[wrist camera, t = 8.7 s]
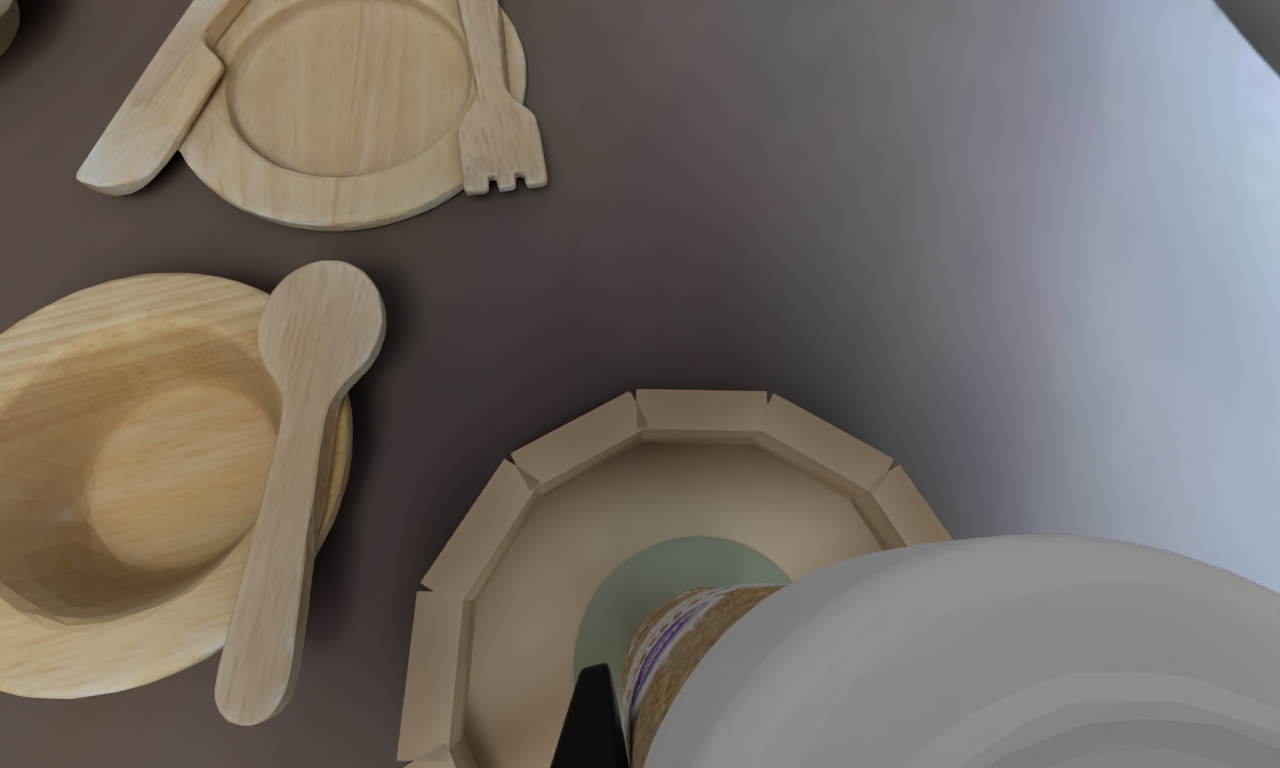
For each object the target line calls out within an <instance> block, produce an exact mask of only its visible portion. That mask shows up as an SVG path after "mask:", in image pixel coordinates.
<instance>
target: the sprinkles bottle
mask: <svg viewBox="0 0 1280 768" xmlns="http://www.w3.org/2000/svg"><path fill="white" fill-rule="evenodd" d="M621 699H622V708H623V714H624V739H625V745H626V750H627V756H628V762H629V767H630V768H1280V594H1279V593H1277V592H1275V591H1273V590H1270V589H1268V588H1266V587H1264V586H1262V585H1260V584H1257V583H1255V582H1253V581H1251V580H1249V579H1246V578H1244V577H1242V576H1239V575H1237V574H1235V573H1233V572H1230V571H1228V570H1225V569H1222V568H1219V567H1216V566H1213V565H1210V564H1207V563H1204V562H1201V561H1198V560H1195V559H1192V558H1189V557H1186V556H1183V555H1181V554H1178V553H1174V552H1170V551H1166V550H1162V549H1158V548H1153V547H1149V546H1145V545H1140V544H1135V543H1130V542H1125V541H1119V540H1111V539H1104V538H1096V537H1087V536H1078V535H1069V534H1037V535H1001V536H991V537H981V538H971V539H961V540H951V541H941V542H933V543H927V544H921V545H915V546H909V547H903V548H897V549H891V550H885V551H879V552H874V553H870V554H866V555H862V556H858V557H854V558H850V559H847V560H843V561H839V562H836V563H834V564H831V565H828V566H825V567H823V568H820V569H817V570H815V571H812V572H810V573H808V574H807V575H805V576H803V577H801V578H799V579H798V580H796V581H794V582H792V583H790V584H789V585H788V584H777V583H755V584H740V585H731V586H725V587H720V588H713V587H698V588H694V589H690V590H687V591H685V592H683V593H681V594H678V595H675V596H673V597H671V598H670V599H668V600H667V601H665V602H664V603H663V604H661V605H660V606H659V607H657V608H656V609H655V610H653V611H652V612H651V613H650V614H649V615H648V616H647V617H646V618H645V620H644V621H643V623H642V624H641V626H640V627H639V629H638V630H637V631H636V632H635V634H634V636H633V638H632V641H631V643H630V646H629V648H628V651H627V654H626V657H625V662H624V666H623V674H622V688H621Z"/></svg>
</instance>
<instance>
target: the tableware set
mask: <svg viewBox="0 0 1280 768" xmlns="http://www.w3.org/2000/svg"><path fill="white" fill-rule="evenodd" d="M19 23H20V12H19V7H18V3H17V0H0V57H1V55H2V54H3V53H4V52H5V51H6V50H7V49H8V48H9V47H10V45H11V43H12V41H13V39H14V37H15V35H16V32H17V30H18V27H19ZM525 90H526V63H525V56H524V51H523V47H522V44H521V42H520V39H519V37H518V35H517V32H516V30H515V28H514V26H513V24H512V22H511V21H510V19H509V18H508V16H507V15H506V14H505V12H504V11H503V9H502V8H501V7H500V6H499V2H498V0H194V1H193V2H192V4H191V5H190V6H189V8H188V9H187V11H186V12H185V14H184V15H183V16H182V18H181V19H180V21H179V22H178V24H177V25H176V26H175V28H174V29H173V31H172V32H171V34H170V35H169V36H168V38H167V39H166V41H165V42H164V44H163V45H162V46H161V48H160V49H159V51H158V52H157V54H156V55H155V56H154V58H153V59H152V61H151V62H150V64H149V65H148V67H147V68H146V70H145V71H144V73H143V74H142V76H141V77H140V79H139V80H138V82H137V83H136V85H135V86H134V88H133V89H132V91H131V92H130V94H129V95H128V97H127V98H126V100H125V101H124V103H123V104H122V106H121V107H120V109H119V110H118V112H117V113H116V115H115V116H114V118H113V119H112V121H111V122H110V124H109V125H108V127H107V128H106V130H105V131H104V133H103V134H102V136H101V137H100V139H99V140H98V142H97V143H96V145H95V146H94V148H93V149H92V151H91V152H90V154H89V155H88V157H87V158H86V160H85V161H84V163H83V164H82V166H81V167H80V169H79V170H78V172H77V176H76V179H78V180H79V181H80V182H82V183H83V184H85V185H86V186H87V187H89V188H90V189H92V190H95V191H98V192H101V193H104V194H108V195H113V196H119V195H126V194H131V193H133V192H135V191H137V190H139V189H141V188H143V187H144V186H145V185H146V184H148V183H149V182H150V181H151V180H152V179H153V178H154V177H155V176H156V175H157V174H158V173H159V172H160V171H161V170H162V168H163V167H164V166H165V165H166V164H167V163H168V162H169V160H170V159H171V157H172V156H173V155H174V153H175V152H176V151H177V150H179V151H180V152H181V154H182V155H183V157H184V159H185V161H186V163H187V164H188V165H189V166H190V168H191V169H192V170H193V171H194V173H195V174H196V175H197V176H198V177H199V178H200V179H201V180H202V181H203V182H204V183H205V184H206V185H207V186H208V187H209V188H210V189H212V190H213V191H214V192H215V193H217V194H218V195H219V196H220V197H222V198H223V199H224V200H226V201H227V202H229V203H230V204H232V205H234V206H235V207H237V208H239V209H240V210H242V211H245V212H247V213H249V214H252V215H254V216H256V217H259V218H261V219H264V220H268V221H271V222H274V223H277V224H281V225H285V226H289V227H294V228H301V229H308V230H315V231H334V232H342V231H353V230H361V229H369V228H375V227H379V226H384V225H388V224H392V223H395V222H399V221H402V220H405V219H408V218H411V217H413V216H416V215H418V214H421V213H423V212H425V211H428V210H430V209H432V208H434V207H436V206H438V205H440V204H442V203H444V202H445V201H447V200H449V199H450V198H452V197H453V196H454V195H456V194H457V193H459V192H460V191H462V190H463V189H465V192H466V194H467V195H468V196H470V195H479V194H486V193H487V192H488V191H489V181H492V180H494V181H497V185H498V188H499V190H500V192H502V191H511V190H514V189H515V188H516V178H519V177H522V178H525V182H526V186H527V187H528V188H537V187H543V186H545V185H547V173H546V166H545V160H544V154H543V149H542V143H541V137H540V133H539V129H538V125H537V121H536V118H535V116H534V115H533V114H532V112H531V111H530V110H529V109H528V108H526V107H524V106H523V103H524V97H525ZM386 324H387V323H386V310H385V306H384V303H383V300H382V297H381V294H380V292H379V290H378V289H377V287H376V286H375V284H374V283H373V282H372V281H371V279H370V278H369V277H368V276H367V275H366V274H365V272H364V271H362V270H360V269H359V268H357V267H355V266H353V265H352V264H350V263H346V262H343V261H337V260H327V261H317V262H314V263H310V264H307V265H305V266H303V267H301V268H299V269H297V270H296V271H294V272H292V273H291V274H289V275H288V276H286V277H285V278H284V279H283V280H282V281H281V282H280V283H279V284H278V286H277V287H276V288H275V289H274V290H273V291H272V293H271V295H269V294H267V293H266V292H264V291H262V290H260V289H257V288H255V287H252V286H250V285H247V284H245V283H242V282H240V281H235V280H231V279H227V278H223V277H218V276H211V275H204V274H197V273H151V274H144V275H136V276H131V277H126V278H121V279H116V280H111V281H108V282H105V283H102V284H99V285H96V286H92V287H89V288H86V289H83V290H80V291H77V292H75V293H72V294H70V295H68V296H66V297H64V298H62V299H60V300H58V301H56V302H54V303H52V304H50V305H48V306H46V307H44V308H42V309H40V310H38V311H36V312H34V313H33V314H31V315H29V316H27V317H26V318H24V319H22V320H21V321H19V322H18V323H16V324H15V325H14V326H12V327H11V328H9V329H8V330H6V331H5V332H4V333H2V334H1V335H0V691H3V692H7V693H10V694H14V695H18V696H25V697H32V698H60V699H74V698H80V697H87V696H93V695H100V694H106V693H113V692H119V691H122V690H126V689H130V688H134V687H138V686H142V685H146V684H149V683H152V682H154V681H157V680H160V679H162V678H165V677H167V676H170V675H172V674H175V673H178V672H180V671H182V670H184V669H186V668H188V667H190V666H192V665H194V664H196V663H198V662H201V661H203V660H205V659H207V658H208V657H210V656H211V655H213V654H215V653H216V652H218V651H219V650H221V649H223V652H222V656H221V659H220V663H219V667H218V673H217V678H216V684H215V702H216V704H217V707H218V710H219V712H220V713H221V714H222V715H223V717H224V718H225V719H226V720H227V721H229V722H232V723H235V724H237V725H246V726H251V725H254V724H257V723H260V722H264V721H266V720H268V719H270V718H272V717H274V716H276V715H277V714H278V713H279V712H281V711H282V710H283V709H284V708H285V706H286V705H287V703H288V702H289V701H290V699H291V698H292V695H293V693H294V690H295V688H296V685H297V682H298V678H299V673H300V668H301V664H302V656H303V648H304V640H305V633H306V625H307V617H308V609H309V601H310V592H311V584H312V575H313V567H314V559H315V557H316V556H317V554H318V552H319V550H320V548H321V546H322V544H323V542H324V541H325V539H326V537H327V535H328V533H329V531H330V529H331V527H332V525H333V523H334V521H335V518H336V515H337V513H338V510H339V508H340V505H341V502H342V499H343V496H344V492H345V489H346V486H347V483H348V477H349V471H350V465H351V459H352V440H353V421H352V409H351V404H350V400H349V396H348V391H349V390H350V388H351V387H352V386H353V385H354V384H355V383H356V382H357V381H358V380H359V379H360V378H361V377H362V376H363V375H364V374H365V373H366V372H367V371H368V370H369V368H370V367H371V366H372V364H373V363H374V361H375V359H376V358H377V356H378V355H379V352H380V349H381V347H382V344H383V341H384V339H385V332H386Z"/></svg>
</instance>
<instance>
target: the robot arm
mask: <svg viewBox="0 0 1280 768" xmlns="http://www.w3.org/2000/svg"><path fill="white" fill-rule="evenodd" d="M550 768H630V767H629V762H628V756H627V750H626V745H625V739H624V733H623V727H622V722H621V716H620V711H619V705H618V701H617V696H616V692H615V687H614V683H613V678H612V674H611V669H610V666H609V665H608V664H607V663H600V664H596V665H592V666H588V667H584V668H583V669H582V670H581V671H580V673H579V675H578V678H577V682H576V685H575V688H574V691H573V694H572V698H571V701H570V704H569V707H568V711H567V714H566V717H565V720H564V724H563V727H562V730H561V733H560V736H559V740H558V743H557V746H556V749H555V753H554V756H553V759H552V762H551V766H550Z"/></svg>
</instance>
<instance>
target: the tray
mask: <svg viewBox="0 0 1280 768" xmlns="http://www.w3.org/2000/svg"><path fill="white" fill-rule="evenodd" d="M510 454H511V456H512V458H513V460H514V462H515V464H516V465H514V464H513V463H511V462H509V461H508V460H506V459H504V460H503V461H502V463H501V464H500V466H499V467H498V469H497V470H496V472H495V473H494V475H493V476H492V478H491V479H490V481H489V482H488V484H487V485H486V487H485V488H484V490H483V491H482V492H481V494H480V495H479V497H478V498H477V500H476V501H475V503H474V504H473V506H472V507H471V509H470V510H469V512H468V513H467V515H466V516H465V518H464V519H463V521H462V522H461V523H460V525H459V526H458V528H457V529H456V531H455V532H454V534H453V535H452V537H451V538H450V540H449V541H448V543H447V544H446V546H445V547H444V549H443V550H442V552H441V553H440V554H439V556H438V557H437V559H436V560H435V562H434V563H433V565H432V566H431V568H430V569H429V571H428V572H427V574H426V575H425V577H424V578H423V580H422V581H421V582H420V583H421V584H423V585H424V586H426V587H428V588H429V589H431V590H432V591H417V596H416V604H415V612H414V621H413V629H412V637H411V645H410V654H409V662H408V670H407V678H406V686H405V695H404V703H403V711H402V719H401V728H400V736H399V744H398V752H397V760H396V761H409V762H408V763H407V764H406V765H404V766H403V767H402V768H550V766H551V762H552V759H553V756H554V753H555V749H556V746H557V743H558V740H559V736H560V733H561V730H562V727H563V724H564V720H565V717H566V714H567V711H568V707H569V704H570V701H571V698H572V694H573V691H574V688H575V685H576V682H577V678H578V675H579V673H580V671H581V670H582V669H583V668H584V667H588V666H592V665H596V664H600V663H607V664H608V665H609V666H610V669H611V674H612V678H613V683H614V687H615V692H616V696H617V701H618V705H619V711H620V716H621V722H622V727H623V733H624V714H623V708H622V699H621V688H622V674H623V666H624V662H625V657H626V654H627V651H628V648H629V646H630V643H631V641H632V638H633V636H634V634H635V632H636V631H637V630H638V629H639V627H640V626H641V624H642V623H643V621H644V620H645V618H646V617H647V616H648V615H649V614H650V613H651V612H652V611H653V610H655V609H656V608H657V607H659V606H660V605H661V604H663V603H664V602H665V601H667V600H668V599H670V598H671V597H673V596H675V595H678V594H681V593H683V592H685V591H687V590H690V589H694V588H698V587H713V588H720V587H725V586H731V585H740V584H755V583H777V584H788V585H789V584H790V583H792V582H794V581H796V580H798V579H799V578H801V577H803V576H805V575H807V574H808V573H810V572H812V571H815V570H817V569H820V568H823V567H825V566H828V565H831V564H834V563H836V562H839V561H843V560H847V559H850V558H854V557H858V556H862V555H866V554H870V553H874V552H879V551H885V550H891V549H897V548H903V547H909V546H915V545H921V544H927V543H933V542H941V541H951V540H953V539H952V537H951V536H950V535H949V533H948V532H947V530H946V529H945V528H944V526H943V525H942V523H941V522H940V521H939V519H938V518H937V516H936V515H935V513H934V512H933V511H932V509H931V508H930V506H929V505H928V504H927V502H926V501H925V499H924V498H923V496H922V495H921V494H920V492H919V491H918V489H917V488H916V487H915V485H914V484H913V482H912V481H911V480H910V478H909V477H908V475H907V474H906V472H905V471H904V470H903V468H902V467H901V465H900V464H899V465H897V466H895V467H893V468H891V469H889V468H890V466H891V464H892V462H893V458H891V457H890V456H888V455H886V454H884V453H882V452H880V451H879V450H877V449H875V448H873V447H871V446H870V445H868V444H866V443H864V442H862V441H860V440H859V439H857V438H855V437H853V436H851V435H849V434H848V433H846V432H844V431H842V430H840V429H838V428H837V427H835V426H833V425H831V424H829V423H827V422H826V421H824V420H822V419H820V418H818V417H817V416H815V415H813V414H811V413H809V412H807V411H806V410H804V409H802V408H800V407H798V406H796V405H795V404H793V403H791V402H789V401H787V400H785V399H784V398H782V397H780V396H778V395H776V394H773V395H772V396H771V398H770V399H769V400H768V402H767V391H725V390H666V389H636V401H635V399H634V398H633V396H632V394H631V392H630V391H628V392H626V393H624V394H622V395H621V396H619V397H617V398H615V399H613V400H611V401H609V402H607V403H605V404H603V405H602V406H600V407H598V408H596V409H594V410H592V411H590V412H588V413H586V414H584V415H583V416H581V417H579V418H577V419H575V420H573V421H571V422H569V423H567V424H565V425H564V426H562V427H560V428H558V429H556V430H554V431H552V432H550V433H548V434H546V435H545V436H543V437H541V438H539V439H537V440H535V441H533V442H531V443H529V444H527V445H526V446H524V447H522V448H520V449H518V450H516V451H514V452H512V453H510Z"/></svg>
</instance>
